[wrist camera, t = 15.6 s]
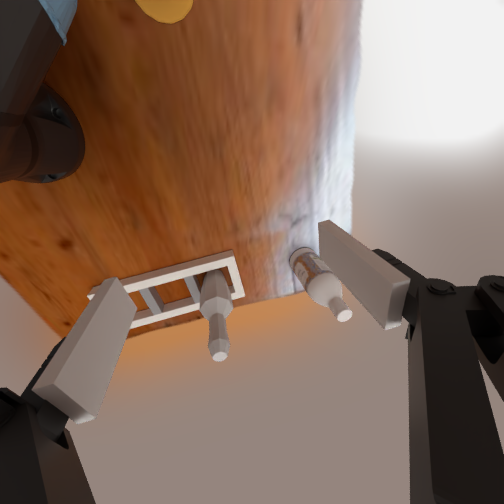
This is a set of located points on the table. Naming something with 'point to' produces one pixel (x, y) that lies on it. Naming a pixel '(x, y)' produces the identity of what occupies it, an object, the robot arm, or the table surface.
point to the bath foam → (320, 282)
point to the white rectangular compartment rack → (175, 272)
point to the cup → (166, 9)
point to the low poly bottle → (216, 312)
